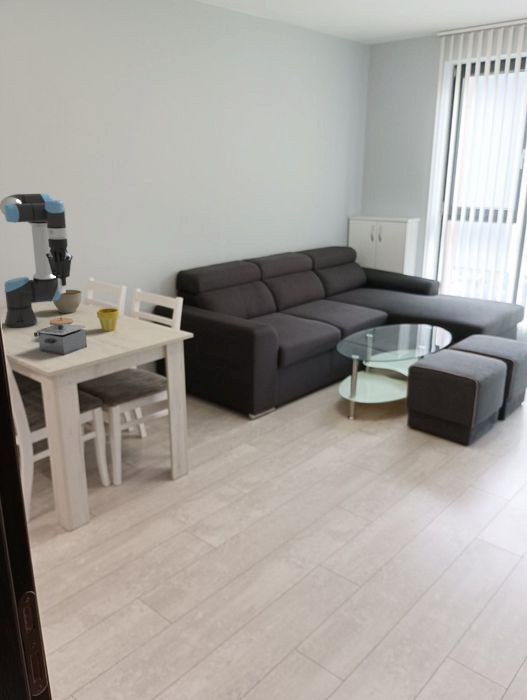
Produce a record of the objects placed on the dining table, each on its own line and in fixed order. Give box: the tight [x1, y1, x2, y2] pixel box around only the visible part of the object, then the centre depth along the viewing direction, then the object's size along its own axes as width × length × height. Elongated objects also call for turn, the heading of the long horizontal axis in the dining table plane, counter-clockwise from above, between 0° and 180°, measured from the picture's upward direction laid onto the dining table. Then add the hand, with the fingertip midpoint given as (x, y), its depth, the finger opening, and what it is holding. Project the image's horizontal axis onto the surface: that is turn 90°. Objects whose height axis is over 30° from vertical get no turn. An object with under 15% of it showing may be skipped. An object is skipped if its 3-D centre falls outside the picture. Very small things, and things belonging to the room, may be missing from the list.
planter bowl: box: [52, 289, 83, 314], centre depth 321 cm, size 16×16×11 cm
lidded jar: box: [49, 316, 74, 327], centre depth 274 cm, size 11×11×9 cm
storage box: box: [33, 328, 88, 356], centre depth 255 cm, size 15×17×8 cm
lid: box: [36, 324, 86, 335], centre depth 253 cm, size 15×14×3 cm
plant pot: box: [96, 307, 120, 332], centre depth 286 cm, size 10×10×10 cm
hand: (62, 292), depth 250 cm, fingers closed
